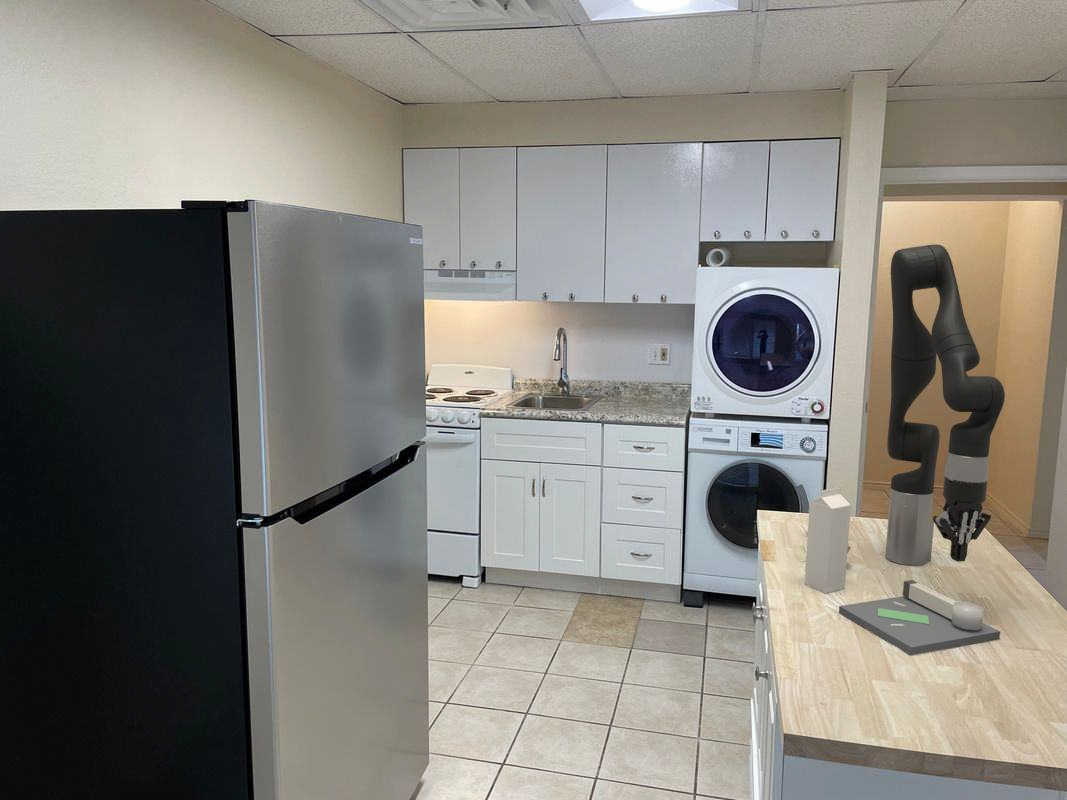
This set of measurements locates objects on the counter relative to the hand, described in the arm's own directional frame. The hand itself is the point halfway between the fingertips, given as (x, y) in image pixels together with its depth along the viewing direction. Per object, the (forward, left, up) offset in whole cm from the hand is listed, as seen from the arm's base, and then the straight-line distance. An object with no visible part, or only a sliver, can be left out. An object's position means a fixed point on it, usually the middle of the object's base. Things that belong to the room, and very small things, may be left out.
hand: (957, 560), depth 161 cm
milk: (+16, -19, -11) cm, 27 cm away
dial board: (+12, +3, -11) cm, 17 cm away
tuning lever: (+6, +3, -9) cm, 11 cm away
